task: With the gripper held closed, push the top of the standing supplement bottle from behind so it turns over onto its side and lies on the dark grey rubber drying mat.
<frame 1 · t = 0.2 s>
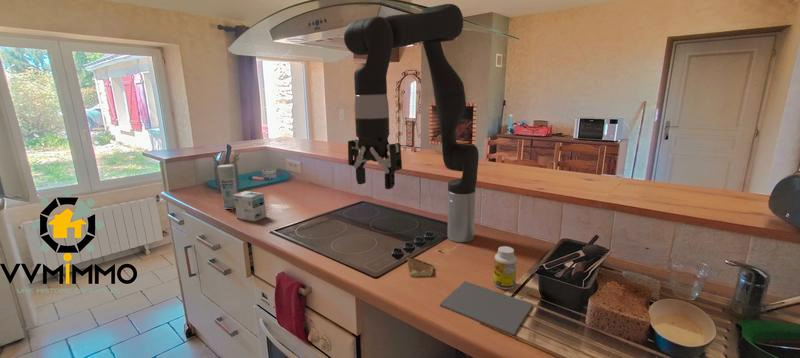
hand: (374, 186, 80), 29 cm above the worktop, tool pointing down, fingers open, 8 cm apart
shard: (415, 271, 100), on the worktop
drying mat: (486, 305, 82), on the worktop
spray can: (231, 208, 160), on the worktop
supplement bottle: (504, 285, 91), on the worktop
light bulb box: (251, 218, 146), on the worktop
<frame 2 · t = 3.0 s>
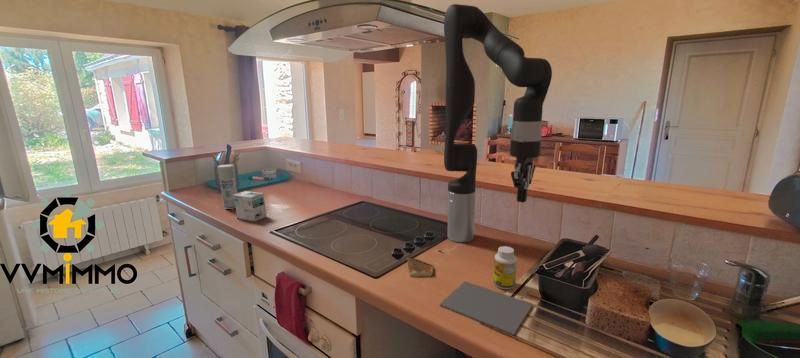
hand: (521, 201, 94), 21 cm above the worktop, tool pointing down, fingers closed
nothing on the worktop moved.
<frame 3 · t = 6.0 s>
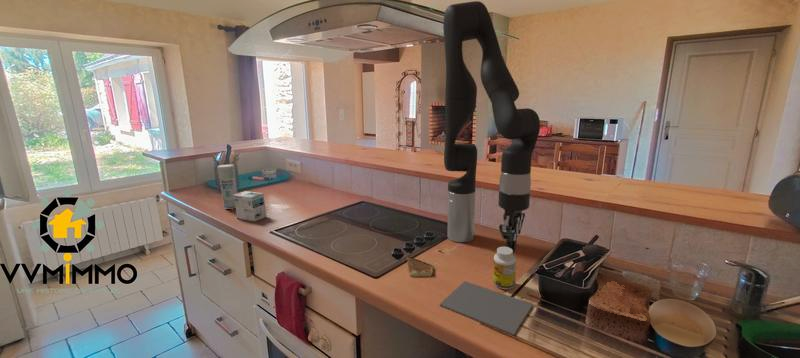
hand: (510, 251, 91), 8 cm above the worktop, tool pointing down, fingers closed
supplement bottle: (504, 284, 91), on the worktop, touching gripper
everything else where it was.
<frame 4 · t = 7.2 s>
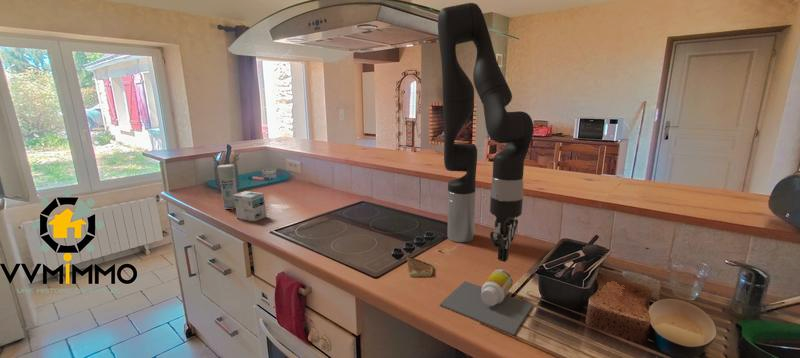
hand: (502, 260, 88), 8 cm above the worktop, tool pointing down, fingers closed
supplement bottle: (502, 278, 88), point 3 cm above the worktop, touching drying mat
everything else where it was.
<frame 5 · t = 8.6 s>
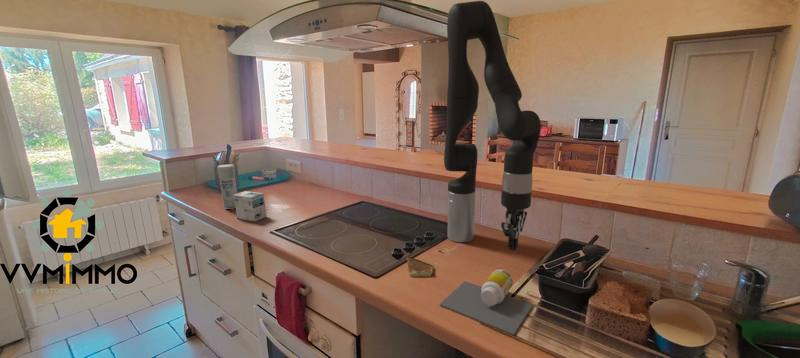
hand: (512, 248, 94), 8 cm above the worktop, tool pointing down, fingers closed
nothing on the worktop moved.
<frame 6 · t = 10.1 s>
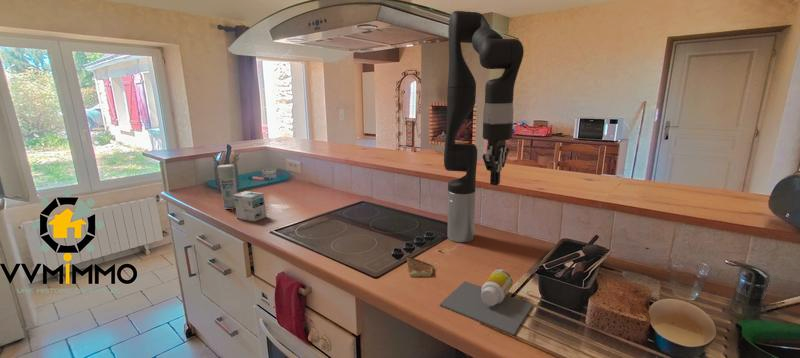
hand: (494, 184, 94), 25 cm above the worktop, tool pointing down, fingers closed
nothing on the worktop moved.
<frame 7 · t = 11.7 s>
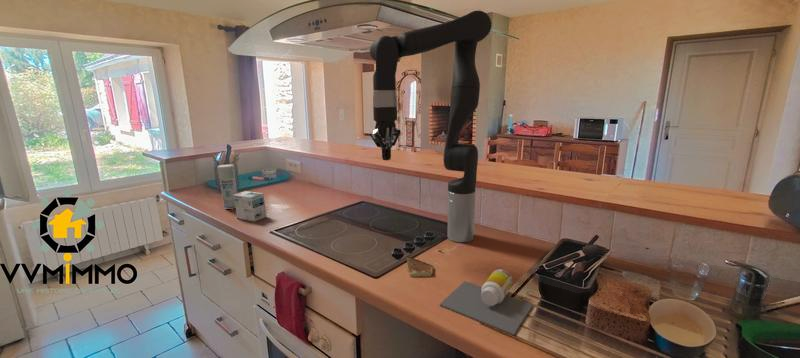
hand: (386, 159, 111), 29 cm above the worktop, tool pointing down, fingers closed
nothing on the worktop moved.
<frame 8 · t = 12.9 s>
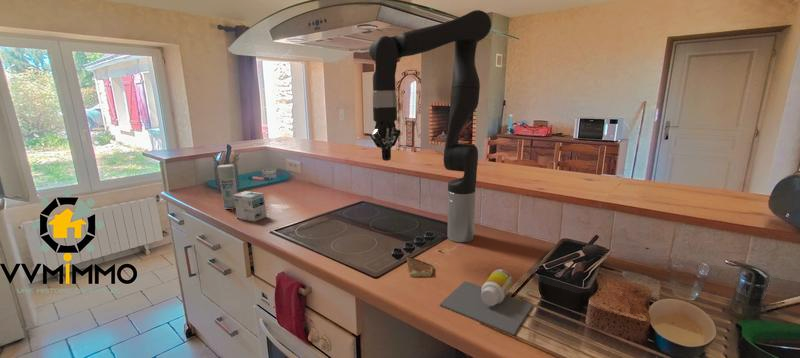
hand: (386, 160, 112), 29 cm above the worktop, tool pointing down, fingers closed
nothing on the worktop moved.
at the end: supplement bottle tilted 90°; supplement bottle inside the target area (6.1 cm from its centre), point 3.1 cm above the worktop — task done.
